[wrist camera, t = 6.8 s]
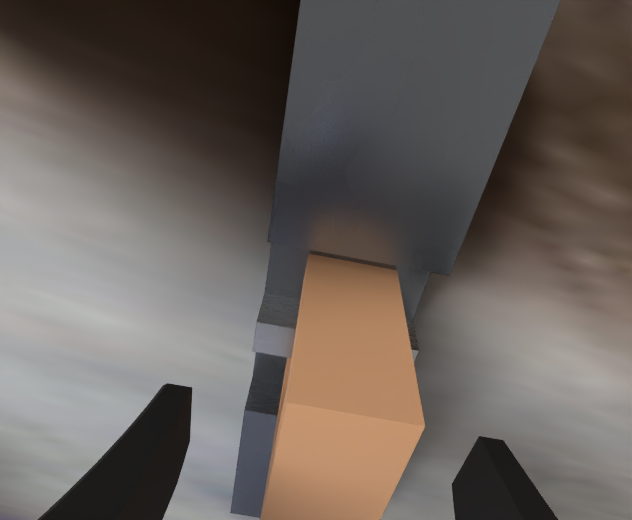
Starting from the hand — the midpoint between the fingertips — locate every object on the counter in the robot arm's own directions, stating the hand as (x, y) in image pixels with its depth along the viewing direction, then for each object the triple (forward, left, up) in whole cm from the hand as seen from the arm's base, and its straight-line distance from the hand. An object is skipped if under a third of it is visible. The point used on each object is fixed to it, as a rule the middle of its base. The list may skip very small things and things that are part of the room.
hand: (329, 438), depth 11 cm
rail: (0, 0, -6) cm, 6 cm away
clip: (0, 0, -5) cm, 5 cm away
